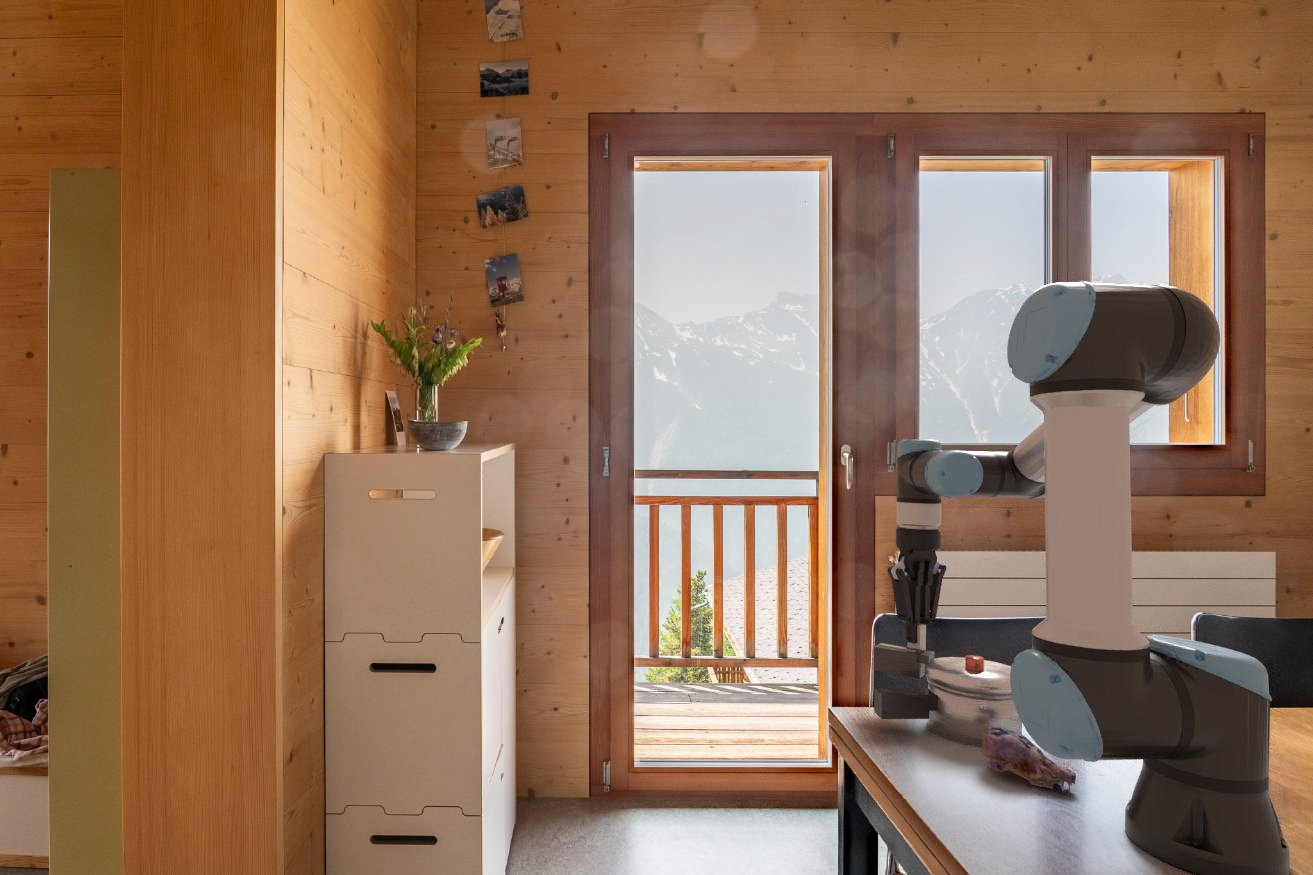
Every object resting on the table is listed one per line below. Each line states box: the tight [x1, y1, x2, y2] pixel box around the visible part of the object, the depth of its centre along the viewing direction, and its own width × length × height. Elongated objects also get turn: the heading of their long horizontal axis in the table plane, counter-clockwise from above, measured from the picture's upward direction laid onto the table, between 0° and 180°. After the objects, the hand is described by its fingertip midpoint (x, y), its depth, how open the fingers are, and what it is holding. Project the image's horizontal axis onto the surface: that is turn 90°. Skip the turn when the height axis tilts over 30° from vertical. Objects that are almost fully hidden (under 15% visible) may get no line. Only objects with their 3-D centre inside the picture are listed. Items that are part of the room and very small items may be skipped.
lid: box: [873, 642, 1012, 694], centre depth 123 cm, size 15×24×5 cm, turn 54°
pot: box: [873, 677, 1023, 748], centre depth 120 cm, size 14×23×8 cm, turn 94°
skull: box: [980, 726, 1077, 792], centre depth 102 cm, size 12×8×6 cm, turn 36°
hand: (916, 660), depth 130 cm, fingers closed
